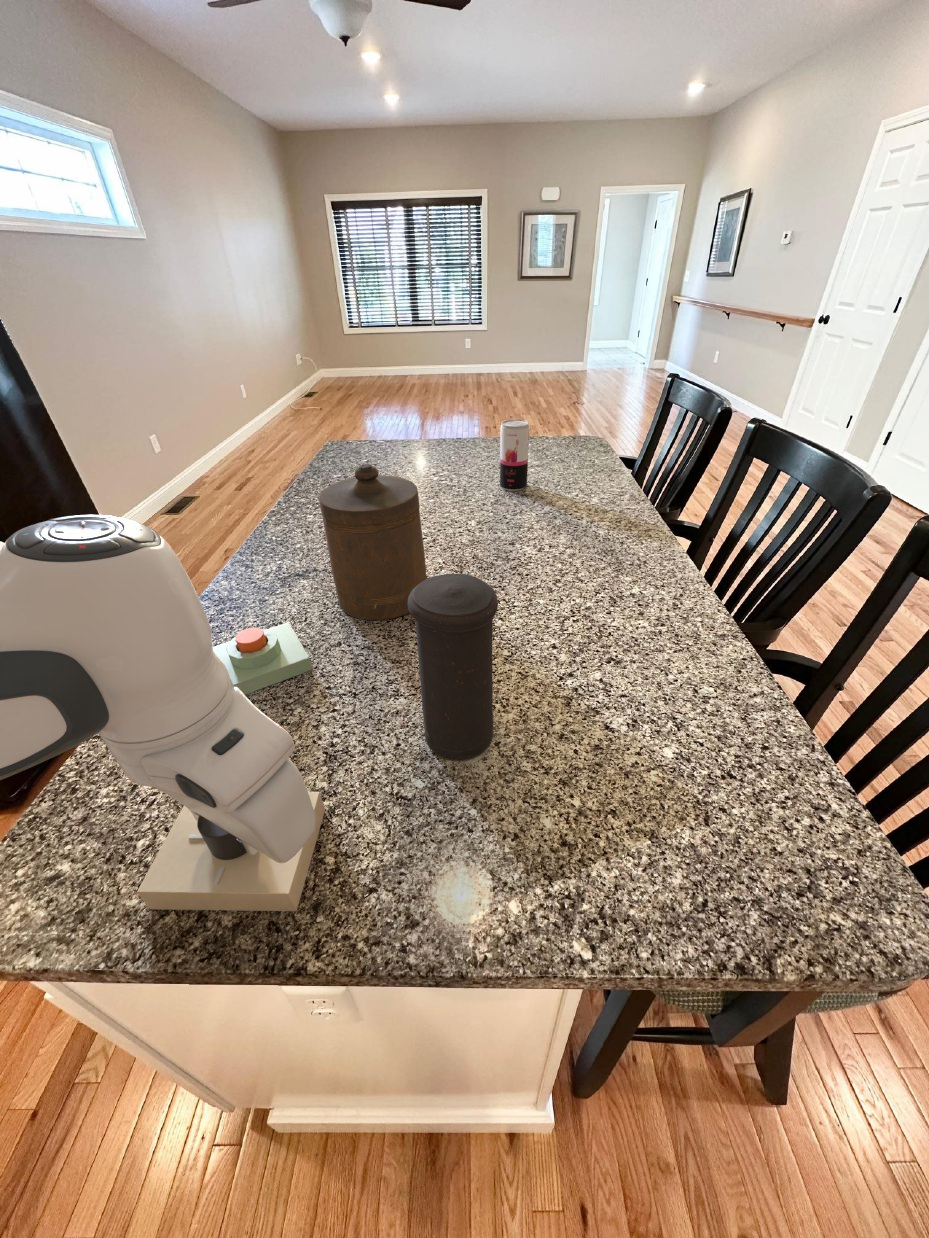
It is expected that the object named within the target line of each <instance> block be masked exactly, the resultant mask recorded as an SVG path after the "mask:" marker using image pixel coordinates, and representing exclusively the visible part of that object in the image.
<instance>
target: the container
mask: <svg viewBox="0 0 929 1238" xmlns="http://www.w3.org/2000/svg"><path fill="white" fill-rule="evenodd" d="M498 608H499V601H498V595H497V593H496V591H495V590H494V588H493V587H492V586H491V585H490V584H489V583H487V582H486V581H485V580H482V579H481V578H478V577H476V576H473V575H471V574H466V573H443V574H439V575H438V574H437V575H434V576H432V577H429V578H427V579H426V580H424V581H423V582H421V583H420V584H419V585H417V586H416V587H415V588H414V589H413V590H412V591H411V593H410V595H409V597H408V609H409V611H410V613H409V614H410V615H411V616H412V618H413V619H414V620H415V621H414V622H415V633H416V643H417V644H416V645H417V656H418V657H417V659H418V671H419V681H420V683H419V684H420V695H421V708H422V720H423V730H424V731H423V732H424V737H425V742H426V744H427V746H428V748H429V749H430V751H432V752H433V753H434V754H435V755H436V756H438V757H440V758H443V759H446V760H450V761H457V762H458V761H459V762H460V761H467V760H471V759H475V758H477V757H478V756H480V755H482V754H483V753H484V752H485V751H486V750H487V749H488V748H489V747H490V746H491V743H492V740H493V738H494V737H493V736H494V699H493V698H494V695H493V694H494V693H493V692H494V689H493V637H494V636H493V631H494V630H493V628H494V625H493V621H494V617H495V616H496V614H497V612H498Z"/></svg>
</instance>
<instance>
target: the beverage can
mask: <svg viewBox="0 0 929 1238" xmlns="http://www.w3.org/2000/svg"><path fill="white" fill-rule="evenodd" d="M500 424H501V425H500V430H499V431H500V433H499V434H500V435H499V436H500V437H499V440H500V441H499V444H500V446H499V452H500V453H499V486H500V487H501V489H502V490H505V491H508V492H509V491H510V492H519V491H522V490H524V489H525V488H526V487H527V486H528V468H529V467H528V466H529V444H530V422H529V421H528V420H526V419H519V418H515V419H514V418H513V419H511V418H510V419H505V420H502V421H501V422H500Z"/></svg>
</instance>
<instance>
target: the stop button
mask: <svg viewBox="0 0 929 1238" xmlns="http://www.w3.org/2000/svg"><path fill="white" fill-rule="evenodd" d="M262 629H263V628H260V627H248V628H245V629H242V630H241V631H239V632H238V633H236V635H235V637H236V638H235V637H234V638H235V639H236V642H237V645H238V648H239V650H240V651H241V652H242V653H252V652H255V651H258V650H261V649H262V648H263V647H265V646H266V643H267V641H266V638H265V635H264V632H263V630H262Z"/></svg>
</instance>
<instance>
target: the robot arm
mask: <svg viewBox="0 0 929 1238" xmlns="http://www.w3.org/2000/svg"><path fill="white" fill-rule="evenodd" d="M207 616H208V615H207V614H206V611H205V609H204V606H203V604H202V602H201V600H200V597H199V594H198V592H197V591H196V588H195V586H194V584H193V583H192V579H191V578H190V576H189V574H188V572H187V571H186V569H185V567H184V565H183V562H182V561H181V560H180V558H179V557H178V555H177V553H176V552H175V551H174V549H173V548H172V546H171V544H169V543H168V541H166V539H164V537H162V536H161V535H160V534H159V533H158V532H157V531H156V530H154V529H153V528H151V527H149V526H147V525H145V524H143V523H141V522H138V521H135V520H132V519H128V518H123V517H117V516H114V515H105V514H104V515H103V514H80V515H67V516H61V517H55V518H50V519H48V520H46V521H42V522H38V523H35V524H31V525H28V526H26V527H23V528H21V529H18V530H17V531H16V532H14V533H13V534H11V535H10V536H9V537H8V538H7V539H6V540H5V542H3V541H0V781H2V780H5V779H7V778H9V777H12V776H14V775H17V774H20V773H21V772H23V771H26V770H28V769H30V768H33V767H35V766H38V765H39V764H41V763H44V762H46V761H49V760H50V759H53V758H55V757H57V756H59V755H61V754H62V753H65V752H67V751H69V750H71V749H74V748H75V747H77V746H79V745H80V744H83V743H84V742H86V741H88V740H89V739H91V738H93V737H94V736H96V735H97V734H98V735H99V737H100V738H101V739H102V741H103V743H104V744H105V746H106V747H107V749H108V750H109V752H110V753H111V755H112V757H113V758H114V760H115V762H116V763H117V765H118V766H119V768H120V769H121V771H122V772H123V774H124V775H125V777H126V778H128V779H129V781H131V782H133V783H135V784H138V785H140V786H144V787H150V788H155V789H156V790H158V791H160V792H162V793H163V794H165V795H167V796H168V797H170V798H171V799H173V800H174V801H176V802H178V803H180V804H181V805H183V806H184V805H185V806H186V807H187V808H188V809H189V810H190V811H191V813H192V814H193V816H194V818H195V820H196V821H198V817H199V815H201V816H203V817H204V818H206V819H207V820H209V821H211V822H212V823H214V824H216V825H217V826H219V827H220V828H222V829H224V830H225V831H227V832H229V833H230V834H232V835H234V836H235V837H237V838H236V840H237V842H238V844H239V846H240V848H242V849H243V850H245V851H246V852H248V853H249V854H251V855H255V854H256V853H257V852H258V851H260V852H261V853H263V854H265V855H266V856H268V857H270V858H271V859H272V860H274V861H276V862H277V863H285V862H287V861H289V860H290V859H291V858H293V857H294V856H295V855H296V854H297V853H298V851H299V850H300V849H301V848H302V847H303V846H304V845H305V843H306V842H307V841H308V840H309V838H310V837H311V835H312V834H313V832H314V830H315V828H316V818H315V813H314V810H313V806H312V803H311V799H310V796H309V793H308V792H309V790H308V788H307V785H306V781H305V780H304V778H303V775H302V773H301V771H300V769H298V767H297V765H296V764H295V763H294V762H293V761H292V760H291V759H290V757H291V756H292V754H293V753H294V752H295V750H296V746H295V741H294V739H293V737H292V736H291V734H290V733H289V732H288V731H287V730H286V729H285V728H284V727H282V726H281V725H280V724H278V723H277V722H276V721H274V720H273V719H272V718H270V717H269V716H268V715H266V714H265V713H264V712H263V711H262V710H260V709H259V708H258V707H257V706H256V705H255V704H254V703H252V701H251V700H250V699H249V698H248V697H247V695H244V693H243V692H242V691H241V690H240V689H239V688H237V687H234V686H233V683H232V681H231V678H230V675H229V673H228V670H227V668H226V667H225V665H224V664H223V662H222V661H221V660H220V659H219V658H218V657H217V656H216V654H215V653H214V651H213V648H212V647H213V643H212V642H213V635H212V634H213V633H212V628H211V624H210V621H209V619H208V617H207Z"/></svg>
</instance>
